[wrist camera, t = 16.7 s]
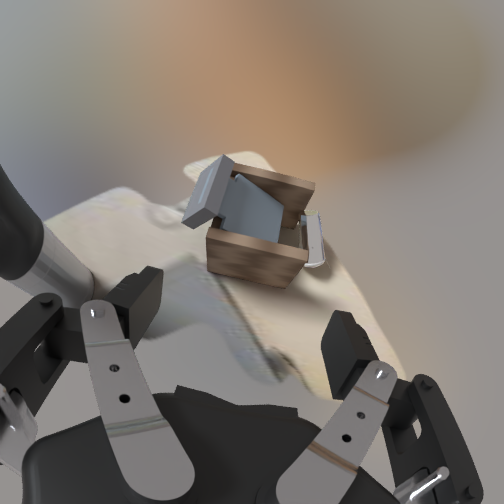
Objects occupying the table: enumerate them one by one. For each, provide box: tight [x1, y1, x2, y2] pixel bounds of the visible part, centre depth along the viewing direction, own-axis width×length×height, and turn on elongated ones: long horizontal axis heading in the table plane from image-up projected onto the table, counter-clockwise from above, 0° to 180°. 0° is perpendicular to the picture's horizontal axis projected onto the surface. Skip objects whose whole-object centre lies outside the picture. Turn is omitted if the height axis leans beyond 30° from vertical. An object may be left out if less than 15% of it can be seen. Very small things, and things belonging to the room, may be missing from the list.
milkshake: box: [299, 210, 330, 268], centre depth 45 cm, size 4×5×10 cm
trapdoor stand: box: [206, 163, 315, 289], centre depth 43 cm, size 13×13×12 cm
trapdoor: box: [181, 154, 284, 243], centre depth 39 cm, size 13×9×6 cm
